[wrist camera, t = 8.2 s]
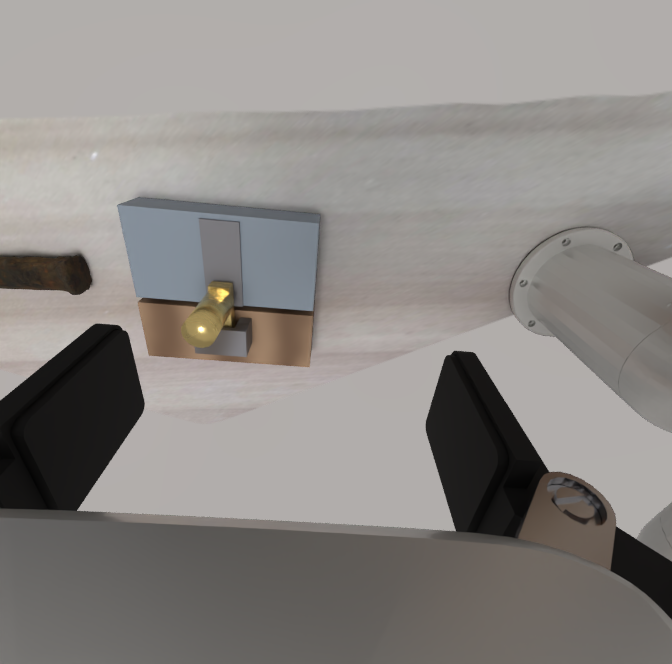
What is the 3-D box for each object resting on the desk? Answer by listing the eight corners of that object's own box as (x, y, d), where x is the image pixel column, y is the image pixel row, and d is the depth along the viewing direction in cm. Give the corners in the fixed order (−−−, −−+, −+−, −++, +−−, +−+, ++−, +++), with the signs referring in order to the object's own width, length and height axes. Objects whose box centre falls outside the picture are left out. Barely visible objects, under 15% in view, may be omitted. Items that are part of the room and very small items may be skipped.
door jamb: (314, 300, 40) (311, 329, 34) (311, 348, 44) (307, 383, 38) (154, 287, 39) (122, 315, 34) (163, 337, 43) (136, 370, 37)
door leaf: (320, 214, 36) (318, 224, 32) (314, 295, 40) (313, 312, 36) (138, 197, 35) (115, 205, 31) (154, 282, 39) (135, 298, 35)
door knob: (236, 283, 34) (214, 318, 28) (240, 343, 38) (220, 387, 31) (208, 280, 34) (178, 315, 28) (213, 341, 38) (189, 385, 31)
